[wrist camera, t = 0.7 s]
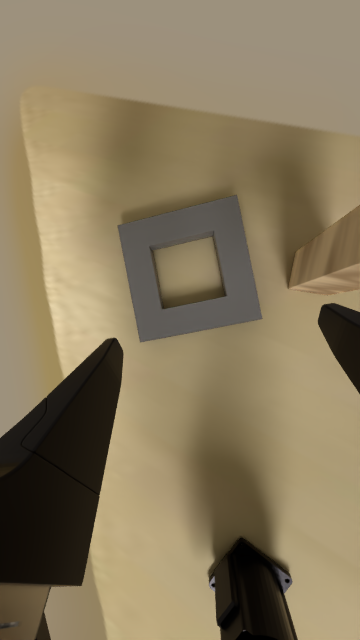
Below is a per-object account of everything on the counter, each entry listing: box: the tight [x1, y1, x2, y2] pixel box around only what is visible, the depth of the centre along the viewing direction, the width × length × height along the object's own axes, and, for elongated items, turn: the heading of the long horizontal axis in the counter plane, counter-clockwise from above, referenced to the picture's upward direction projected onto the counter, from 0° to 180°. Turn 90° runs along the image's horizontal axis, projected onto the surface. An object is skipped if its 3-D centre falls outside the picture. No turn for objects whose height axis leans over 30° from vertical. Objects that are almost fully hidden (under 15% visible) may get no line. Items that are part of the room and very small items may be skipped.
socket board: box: [118, 195, 262, 342], centre depth 23 cm, size 13×13×2 cm
